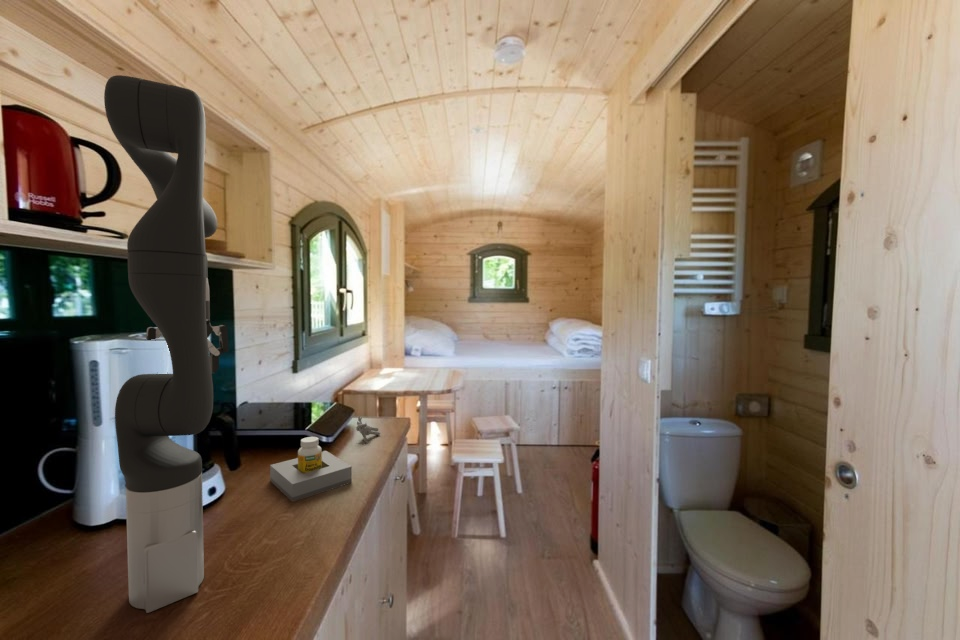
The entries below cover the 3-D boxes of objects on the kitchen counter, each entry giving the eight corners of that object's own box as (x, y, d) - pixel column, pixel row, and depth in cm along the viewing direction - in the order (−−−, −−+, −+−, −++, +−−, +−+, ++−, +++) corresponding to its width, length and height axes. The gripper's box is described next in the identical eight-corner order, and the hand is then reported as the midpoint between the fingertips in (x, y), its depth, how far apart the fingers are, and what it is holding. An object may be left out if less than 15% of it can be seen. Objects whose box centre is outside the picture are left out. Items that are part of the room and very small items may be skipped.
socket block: (351, 482, 100) (351, 466, 100) (292, 501, 90) (292, 484, 90) (325, 465, 110) (325, 450, 110) (270, 481, 100) (270, 465, 100)
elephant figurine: (388, 439, 131) (366, 436, 124) (376, 450, 133) (353, 448, 126) (380, 414, 137) (358, 409, 131) (368, 425, 139) (346, 421, 132)
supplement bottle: (315, 471, 104) (316, 434, 103) (325, 478, 100) (325, 439, 99) (294, 477, 100) (294, 439, 99) (303, 485, 96) (303, 444, 96)
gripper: (147, 298, 79) (149, 382, 80) (231, 299, 89) (232, 373, 90) (142, 298, 84) (144, 376, 85) (222, 299, 94) (223, 369, 95)
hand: (189, 375), depth 87 cm, fingers open, 8 cm apart
